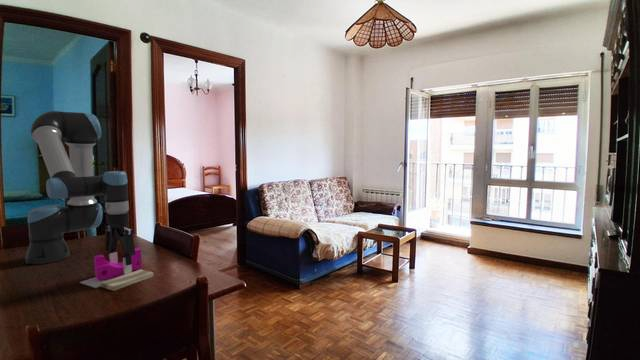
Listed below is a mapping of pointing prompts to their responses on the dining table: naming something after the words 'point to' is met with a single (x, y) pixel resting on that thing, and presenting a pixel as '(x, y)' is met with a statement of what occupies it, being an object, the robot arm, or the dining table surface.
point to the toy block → (114, 266)
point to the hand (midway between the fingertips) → (120, 271)
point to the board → (126, 279)
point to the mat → (96, 281)
